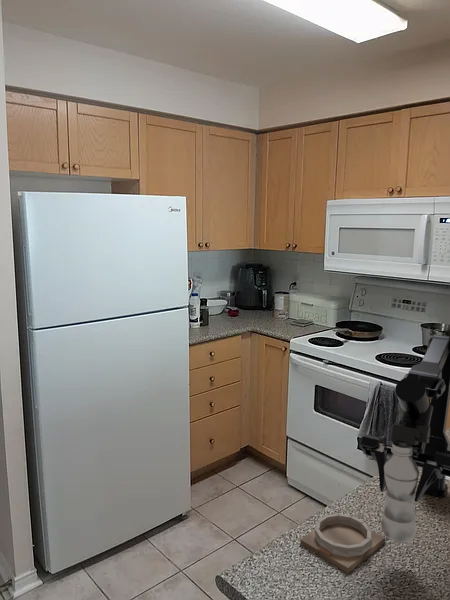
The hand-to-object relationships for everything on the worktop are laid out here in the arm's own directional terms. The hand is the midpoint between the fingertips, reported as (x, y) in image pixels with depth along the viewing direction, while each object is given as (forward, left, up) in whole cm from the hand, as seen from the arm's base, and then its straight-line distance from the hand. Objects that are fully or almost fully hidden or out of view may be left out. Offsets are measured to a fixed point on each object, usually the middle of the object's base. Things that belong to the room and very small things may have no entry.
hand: (398, 496), depth 94 cm
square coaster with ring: (-2, -11, -15) cm, 19 cm away
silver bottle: (-1, 0, -10) cm, 10 cm away
